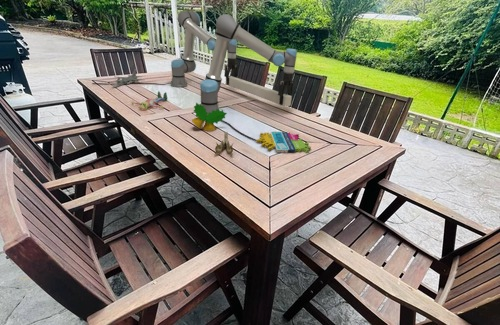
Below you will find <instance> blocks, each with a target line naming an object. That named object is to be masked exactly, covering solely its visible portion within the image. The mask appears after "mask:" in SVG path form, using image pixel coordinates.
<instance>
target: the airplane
mask: <svg viewBox="0 0 500 325" xmlns="http://www.w3.org/2000/svg"><path fill="white" fill-rule="evenodd" d="M127 76H128V77H127ZM127 76H126V77H122V76H113V78H117V79H116V84H112V86H111V87H110V89H111V88H118V87H120V86H123V85H131V84H130V83H139V81H145V79H143V78H142V77H143V75H142V76H141V75H137V68H134V70H133V72H132V74H128V75H127Z"/></svg>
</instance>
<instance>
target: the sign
mask: <svg viewBox="0 0 500 325" xmlns="http://www.w3.org/2000/svg"><path fill="white" fill-rule="evenodd" d="M299 136H300V135H299V134H298V133H296V134H294V133H291V132H287V131H270V132H264V133H263V132H260V133H259V139H258V138H257V139H256V140H257V141H255V142H256V143H257V144H261V148H263V147H264V148H265V149H267V151H268V152H271V151H272V150H273V149H275V152H276V153H283V154H285V153H287V154H288V153H290V154H293V153H296V152H298V153H301V152H305V153H310V151H311V150H312V149H311V148H312V146H309V142H304V141H303V139H302V138H299ZM260 142H263V143H260ZM270 145H272V146H270Z"/></svg>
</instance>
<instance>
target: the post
mask: <svg viewBox="0 0 500 325" xmlns="http://www.w3.org/2000/svg"><path fill="white" fill-rule="evenodd" d="M228 78H229V85H227V81H226V80H225V85H226V86H229V87H231V88H233V89H234V88H235V89H237V90H240V91H242V92H245V93H248V94H251V95H253V96H255V97H258V98H261V99H264V100H265V101H269V102H272V103H274V104H277V105H279V106H282V107H284V108H286V107H290V106H292V99H293V98H292V97H293V95H288V94H287V93H284V94H283V96H284V98H283V105H280V104H279V102H280V100H279V99H280V95H278V91H279V90H275V89H272V88H268V87H265V86H262V85H259V84H256V83H254V82H250V81H247V80H244V79H242V78H239V77H234V76H232V75H229V77H228Z"/></svg>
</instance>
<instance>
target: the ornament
mask: <svg viewBox="0 0 500 325" xmlns="http://www.w3.org/2000/svg"><path fill="white" fill-rule="evenodd" d="M219 110H220V108H219V109H217V110H216V111H214V110H212V112H211V113H208V112H206V109H204V106H201V103H198V102H195V105H194V106H193V112H194V113H195V118H192V119H191V122H192V123H193V125H195V127H197V128H198V129H202V130H203V131H206V132H212V131H213V132H214V131H215V130H216V126H215V124H218V123H219V122H222V120H223V119H226V115H227V114H228V113H227V112H224V110H223V109H221V110H220V111H219ZM207 113H208V115H207ZM214 123H215V124H214ZM222 123H223V122H222Z"/></svg>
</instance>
